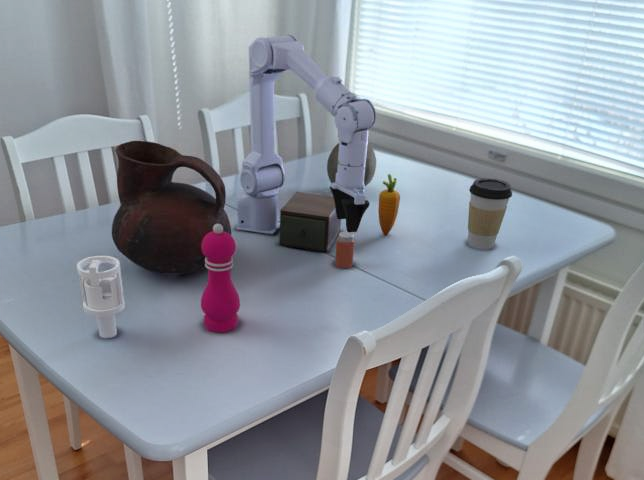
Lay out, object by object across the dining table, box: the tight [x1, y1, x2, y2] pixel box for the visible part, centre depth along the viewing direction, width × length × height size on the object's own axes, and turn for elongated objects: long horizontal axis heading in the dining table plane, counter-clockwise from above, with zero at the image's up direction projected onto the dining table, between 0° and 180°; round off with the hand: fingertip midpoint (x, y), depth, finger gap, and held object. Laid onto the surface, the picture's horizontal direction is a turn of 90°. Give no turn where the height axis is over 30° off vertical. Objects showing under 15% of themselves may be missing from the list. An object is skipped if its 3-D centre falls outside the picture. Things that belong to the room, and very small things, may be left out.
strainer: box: [76, 255, 126, 339], centre depth 117 cm, size 7×7×15 cm
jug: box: [111, 140, 232, 275], centre depth 140 cm, size 25×25×25 cm
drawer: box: [281, 214, 326, 250], centre depth 158 cm, size 14×10×7 cm
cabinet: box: [279, 191, 342, 253], centre depth 160 cm, size 14×12×9 cm
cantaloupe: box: [326, 142, 377, 188], centre depth 186 cm, size 14×14×15 cm
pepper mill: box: [200, 224, 241, 333], centre depth 120 cm, size 7×7×20 cm
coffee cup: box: [467, 177, 513, 251], centre depth 159 cm, size 10×10×15 cm
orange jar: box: [334, 231, 356, 269], centre depth 148 cm, size 4×4×7 cm
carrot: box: [378, 173, 401, 237], centre depth 161 cm, size 5×5×15 cm
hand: (346, 225), depth 145 cm, fingers open, 7 cm apart
